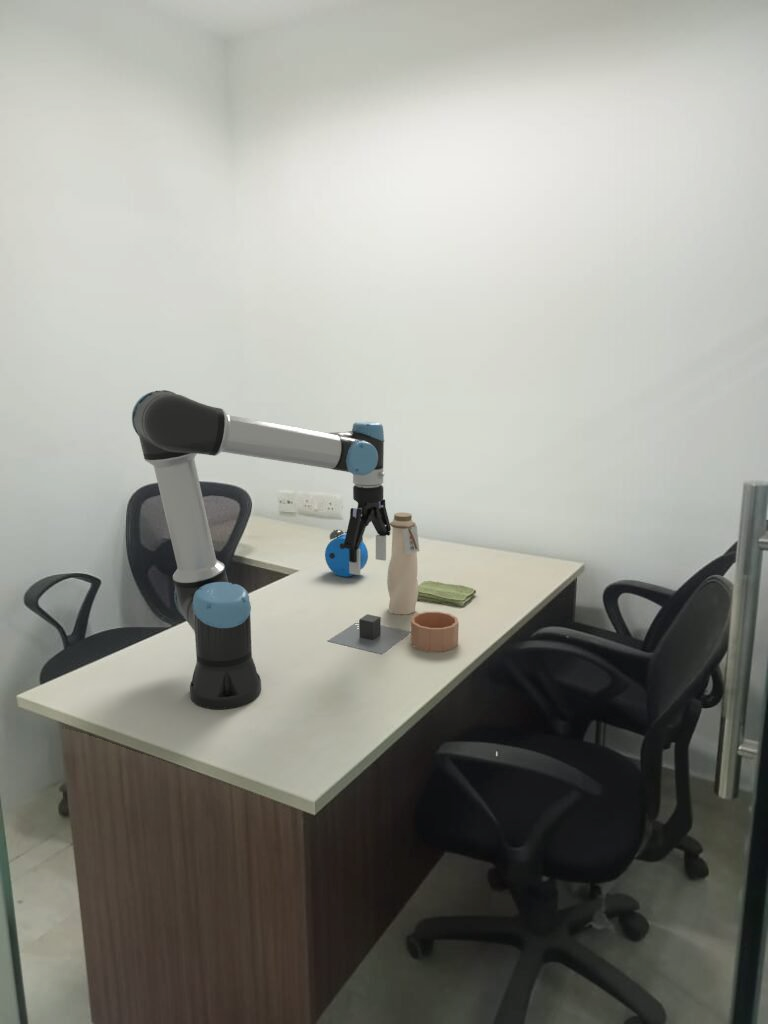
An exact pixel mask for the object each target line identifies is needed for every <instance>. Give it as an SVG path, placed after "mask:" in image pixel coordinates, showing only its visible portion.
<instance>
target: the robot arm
mask: <svg viewBox="0 0 768 1024" xmlns="http://www.w3.org/2000/svg"><path fill="white" fill-rule="evenodd" d="M131 422H132V427H133V430H134V432H135V433H136V434H137V436H138V437H139V442H140V446H141V450H142V453H143V454H142V456H143V459H144V461H145V462H146V463H149V464H150V465H152V466H153V469H154V473H155V477H156V481H157V485H158V489H159V490H158V491H159V494H160V498H161V499H160V500H161V504H162V507H163V511H164V514H165V515H164V516H165V520H166V523H167V529H168V533H169V535H170V537H169V538H170V540H171V544H172V545H171V547H172V549H173V553H174V554H173V555H174V558H175V561H176V567H177V568H176V570H175V571H174V573H173V575H172V580H173V586H174V588H175V589H174V603H175V605H176V609H177V610H178V612H179V614H180V615H181V616H182V617H183V618H184V619H185V620H186V622H187V623H188V625H189V626H190V628H191V629H192V630H193V631H194V636H195V654H196V662H195V663H196V664H195V667H194V670H193V674H192V678H191V681H190V683H189V684H190V685H189V695H190V700H191V701H192V702H193V703H194V704H195V705H197V706H199V707H202V708H204V709H205V708H206V709H210V710H211V709H213V710H214V709H215V710H224V709H225V710H226V709H233V708H237V707H241V706H245V705H247V704H248V703H251V702H253V701H254V700H256V699H257V698H258V697H259V695H260V694H261V692H262V680H261V677H260V674H259V673H258V671H257V667H256V663H255V662H254V659H253V653H252V626H251V625H252V624H251V620H252V619H251V611H252V606H251V601H250V595H249V592H248V591H247V590H246V589H245V588H244V587H243V586H241V585H240V584H238V583H232V582H229V581H228V576H227V572H226V571H227V570H226V566H225V564H224V563H223V562H222V561H220V560H218V559H217V558H216V553H215V549H214V544H213V539H212V535H211V529H210V526H209V525H210V524H209V521H208V517H207V511H206V507H205V502H204V498H203V493H202V489H201V483H200V480H199V474H198V470H197V465H196V460H195V458H196V456H197V455H205V456H206V455H207V456H213V457H216V456H218V455H219V454H221V453H226V454H227V453H228V454H233V455H240V456H245V457H251V458H252V457H253V458H258V459H265V460H271V461H279V462H284V463H289V464H290V463H291V464H295V465H296V464H298V465H303V466H309V467H316V468H324V469H330V470H335V471H341V472H346V473H349V474H350V473H351V474H352V483H353V484H354V485H353V487H352V489H353V490H352V492H353V493H352V495H353V496H352V498H353V500H354V501H355V502H356V503H357V508H353V507H352V508H350V512H349V519H348V526H347V529H346V532H347V533H345V534H346V537H345V542H344V548H347V549H349V574H354V575H356V576H360V575H361V570H360V549H358V548H359V545H360V542H361V539H362V537H363V536H364V533H365V531H366V528H367V527H368V526H369V525H370V523H371V524H372V526H373V527H374V530H375V531H376V535H375V560H378V561H384V562H385V561H386V560H387V536H390V535H391V530H392V528H391V527H392V526H391V525H390V523H391V522H390V519H389V515H388V511H387V508H386V500H385V499H384V486H383V484H384V476H385V473H384V445H385V437H384V435H385V434H384V426H383V424H382V423H380V422H378V421H357V422H354V423H353V424H352V429H351V430H350V431H342V432H340V431H339V432H320V431H315V430H310V429H309V430H308V429H304V428H300V427H295V426H294V427H293V426H289V425H283V424H279V423H272V422H269V421H268V422H267V421H261V420H257V419H251V418H248V417H247V418H246V417H240V416H236V415H230V414H228V413H226V411H225V410H224V409H223V408H219V407H215V406H210V405H207V404H204V403H201V402H198V401H196V400H194V399H191V398H189V397H186V396H184V395H182V394H177V393H175V392H173V391H170V390H165V389H164V390H154V391H151V392H147V393H146V394H144V395H142V396H141V397H140V398H139V399H138V400H137V401H136V402H135V404H134V406H133V409H132V412H131Z"/></svg>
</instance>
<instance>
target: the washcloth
mask: <svg viewBox="0 0 768 1024" xmlns="http://www.w3.org/2000/svg"><path fill="white" fill-rule="evenodd" d="M476 593H477V590H476V589H474V588H472V587H469V586H465V585H461V584H453V583H451V584H450V583H444V582H441V581H440V582H439V581H433V580H426V581H423V582H421V583H420V584H418V598H417V601H420V600H421V602H427V603H428V602H429V603H433V604H443V605H449V606H455V607H463V606H464V604H465V603H467V602H468V601H470V599H472V598H473V596H474V595H475V594H476Z"/></svg>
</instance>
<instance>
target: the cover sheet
mask: <svg viewBox="0 0 768 1024" xmlns="http://www.w3.org/2000/svg"><path fill="white" fill-rule="evenodd" d="M381 619H382V618H381V616H378V615H373V614H370V613H369V614H365V615H364V616H362V617H361V618H359V620H358V621H359V623H356V622H355V623H353V624H351V625H350V626H348V627H347V628H345V629H344V630H342V631H340V632H339V633H337V634H336V635H334V636H333V637H331V638H330V639H328V640H327V642H329V643H333V644H337V645H342V646H346V647H349V648H354V649H357V648H358V650H362V651H365V650H366V651H367V652H370V653H374V654H378V653H379V655H383V654H385V653H386V652H388V649H389V650H390V649H391V648H392V646H393V647H394V646H395V645H397V644H398V643H399V642H400V640H401V641H402V640H404V638H405V637H407V636H408V635H410V634H411V630H406V629H402V628H401V629H400V628H397V627H391V626H388V625H383V624H381V622H382V621H381ZM355 624H359V625H355ZM357 626H359V627H357ZM357 628H359V629H357ZM409 633H410V634H409ZM396 643H397V644H396Z"/></svg>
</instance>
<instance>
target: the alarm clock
mask: <svg viewBox="0 0 768 1024" xmlns="http://www.w3.org/2000/svg"><path fill="white" fill-rule="evenodd" d="M344 533H345V534H344ZM346 533H347V531H343V530H342V529H333V531H332V532H330V534H329V539H330V542H329V543H328V544H327V545H326V548H325V551H324V559H325V564H326V565H327V566H328V569H330V570H331V572H333V573H334V574H335V575H337V576H339V577H343V578H346V577H347V578H348V577H352V576H354V575H355V574H349V549H347V548H344V542H345V537H346ZM358 549H360V571H361V570H362V569H364V568H365V566H366V565H367V562H368V558H369V552H368V548H367V546H366V543H365V542H364V537H363V536H362V539H361V542H360V545H359V548H358Z"/></svg>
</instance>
